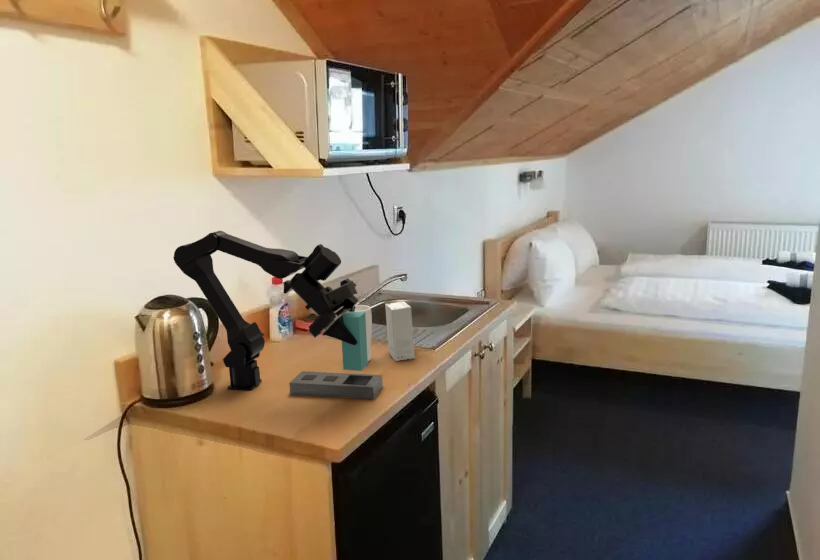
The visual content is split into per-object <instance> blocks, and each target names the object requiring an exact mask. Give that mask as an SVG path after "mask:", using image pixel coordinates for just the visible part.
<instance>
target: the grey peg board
mask: <svg viewBox="0 0 820 560" xmlns="http://www.w3.org/2000/svg"><path fill="white" fill-rule="evenodd" d="M383 384H384V381H383V375H382V374H369V373H368V374H367V373H365V374H364V373H348V372H347V373H345V372H326V371H325V372H324V371H307V370H302V371H301V372H299V373H298V374H297V375H296V376H295V377H294V378H293V379H292V380H290V382H289V394H290V395H291V396H292V395H293V396H306V397H307V396H308V397H310V396H312V397H325V398H326V397H327V398H328V397H329V398H342V399H343V398H344V399H362V400H364V399H365V400H375V398H376V397H377V396H376V395H378V394H379V393H380V391H381V390H382V388H383V386H384V385H383ZM378 392H379V393H378Z"/></svg>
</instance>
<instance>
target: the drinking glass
mask: <svg viewBox="0 0 820 560" xmlns="http://www.w3.org/2000/svg"><path fill="white" fill-rule="evenodd" d="M354 306H355V307H356V308H355V312H365V317H366V339H367V360H368V362H369V361H371V359H372V352H371V351H372V329H373V328H372V327H373V326H372V325H373V323H372V322H373V318H372V308H371V306H369V305H366V304H355V305H354ZM354 306H353V307H354Z"/></svg>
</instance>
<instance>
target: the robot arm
mask: <svg viewBox="0 0 820 560" xmlns="http://www.w3.org/2000/svg"><path fill="white" fill-rule="evenodd" d="M217 251H219V252H222V253H225V254H227V255H229V256H230V255H231V256H233V257H235V258H239V259H242V260H244V261H247V262H249V263H252V264H255V265H256V266H259V267H260V268H261V270H263V271H264V272H266V273H267V274H268V275H270V276H272V277H274V278H275V279H279V280H281V279H282V280H283V279H285V278H287V277H290V276H292V275H293V277H291V278H290V280H289V279H287V280H286V281H283V293H284V294H285V295H286V294H288V293H290V292H291V291H294V293H295V294H296V295H297V296H298V297H299V298H300V299H301V300H302V301H303V302H304V303H305V304H306V305H305V306H304V308H305V309H306V310H307V311H309V310H310V309H311V310H312V311H313V312H314V313H315V314H316V316H317V317H316V318H315V319H314V321H313V322H311V324H310V325H309V326H308V333H309V334H311V336H312V337H313V338H314V339H316V338H317V337H318V336H319V335H322V336H326V337H331V338H333V339H336V340H339V341H341V342H342V341H344V342H347V343H349V344H352V345H356V344H357V340H356V339H355V338H354V336H353V335H352V334H351V332H350V331H349V330H348V329H347V327H346V326H345V325H344V322H343V314H344V313H346V312H347V311H351V312H355V308H356V307H355V305H357V303H358V302H359V301H360V300H359V299H358V297H356V296H355V295H357V294H358V291H357V289H356V286H357V283H356V282H354V281H353V280H351V279H350V278H348V277H347V278H345V279H343V280H341V281H340V282H339V283H340V286H337V287H336V288H332V287H331V286H328V285H327V286H326V287H325V286H323V284H322V283H321V281H326V280H327V279H328V278H329V277H330V276H331V275H332V274H333V273H334V272H335V271H336V270H337V268H339V267H340V265H341V264H342V259H341V257H340V256H339V255H338V254H337V253H336V252H335V251H334V250H331V249H330V248H329V247H325V246H324V245H323V244H322V243H321V244H320V243H319V244H317V245H316V246H314V249H313V250H312V252H311V253H310V254H309V255H308V256H305V255H304V256H303V255H299V254H298V253H297V252H295V251H293V250H289V249H283V248H271V247H270V248H269V247H266V246H263V245H260V244H257V243H254V242H251V241H248V240H245V239H242V238H240V237H237V236H234V235H232V234H230V233H229V234H228V233H227V232H225V231H223V230H218V231H212V232H209V233H208V234H206V235H205V236H203V237H202V238H200V239H198V240H196V241H194V242H190V243H187V244H183V245H180V246H177V248H175V250H174V253H173V261H174V263H175V265H176V266H177V267H178V268H179V270H180V271H181V272H182V273H183V274H184V275H185V276H186V277H189V278H190V279H191V280H193V281H194V282H195V283H196V284H197V286H198V287H199V289H200V291H201V292H202V293H203V295H204V297H205V298H206V300H207V302H208V304H209V305H210V306H211V308H212V310H213V311H214V313H215V314H216V316H217V317H218V319H219V322H221V324H222V325H223V327H224V328H225V331H226V339H227V344H228V346H229V350H230V351H229V352H228V353H227V354H226V355H225V356H224V357H223V359H222V362H223V363H224V367H225V368H228V370H229V371H228V373H229V381H230V382H229V383H230V384H229V385H228V386H227V389H228V390H239V391H240V390H241V391H251V390H254V388H255V387H256V386H258V385H259V384H260V383H261V382H263V380H262V378H261V374H260V373H261V372H260V366H259V365H258V360H257V359H258V358H260V355H261V352H262V351H263V350H264V347H265V344H266V341H265V338H264V336H265V333H263V332H262V331H261V329H260V328H259V325H258V323H257V322H256V321H254V322H252V323H249V322H247V321H246V320H245V319H244V318H243V316H242V315H241V313H240V311H239V309H238V307H236V305H235V303H234V302H233V300H232V298H231V297H230V296H229V294H228V292H227V290H226V289H225V287H224V286H223V284H222V283H221V281H220V279H219V278H218V276H217V275H216V273H215V271H214V265H213V264H214V263H213V262H214V261H213V257H212V255H213V254H214V253H216V252H217ZM302 269H303V270H302ZM300 270H302V272H298V271H300ZM353 306H354V307H353ZM323 330H325V331H324V332H323V333H322V331H323ZM321 333H322V334H321Z"/></svg>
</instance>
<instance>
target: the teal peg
mask: <svg viewBox="0 0 820 560" xmlns="http://www.w3.org/2000/svg"><path fill="white" fill-rule="evenodd" d="M343 322H344V325H345V326H346V327H347V329H348V330H349V331H350V332H351V334H352V335H353V336H354V338H355V339H356V340H357V344H356V345H352V344H349V343H347V342H344V341H341V349H342V350H341V351H342V368H343V369H342V370H345V371H356V372H357V371H359V372H361V371H363V370H364V369H365V368H366V367H367V366H368V363H369V361H368V360H367V339H366V317H365V312H351V311H347V312H346V313H344V314H343Z"/></svg>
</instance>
